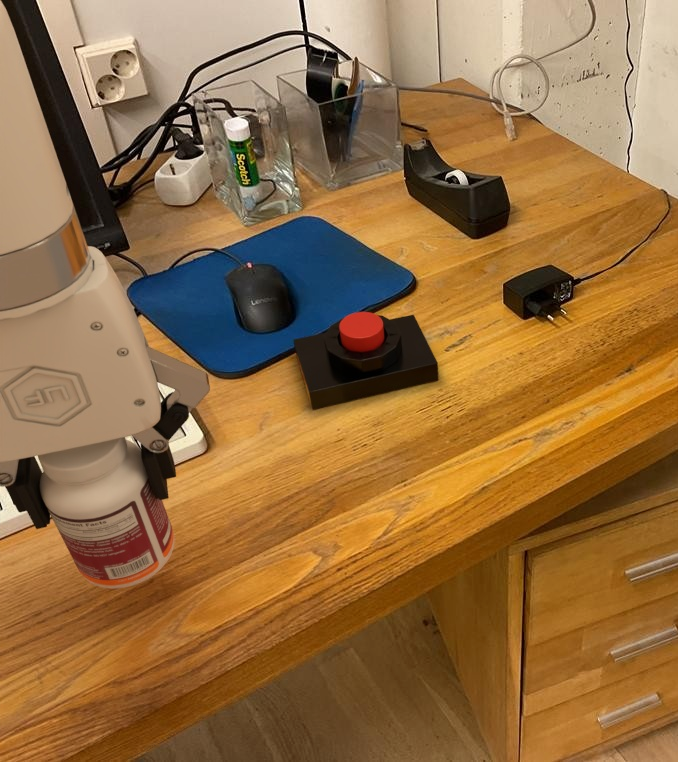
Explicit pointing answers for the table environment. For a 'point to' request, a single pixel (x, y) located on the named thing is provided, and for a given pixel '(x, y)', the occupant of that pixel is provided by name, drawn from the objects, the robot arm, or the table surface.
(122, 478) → the pill bottle
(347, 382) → the button box
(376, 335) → the button
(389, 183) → the table surface
